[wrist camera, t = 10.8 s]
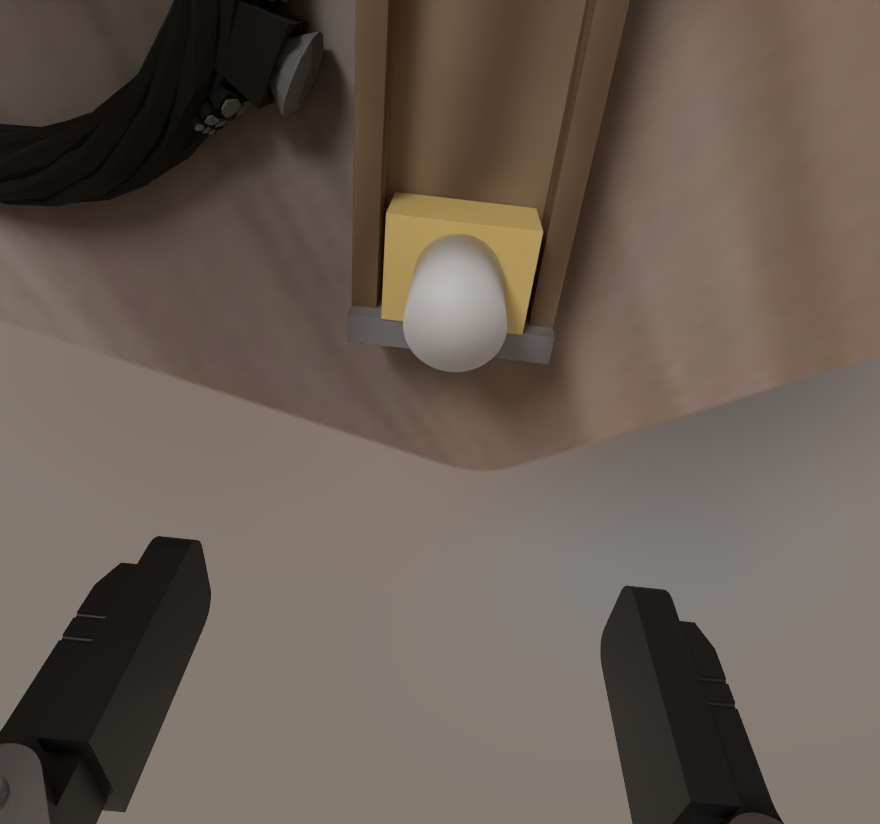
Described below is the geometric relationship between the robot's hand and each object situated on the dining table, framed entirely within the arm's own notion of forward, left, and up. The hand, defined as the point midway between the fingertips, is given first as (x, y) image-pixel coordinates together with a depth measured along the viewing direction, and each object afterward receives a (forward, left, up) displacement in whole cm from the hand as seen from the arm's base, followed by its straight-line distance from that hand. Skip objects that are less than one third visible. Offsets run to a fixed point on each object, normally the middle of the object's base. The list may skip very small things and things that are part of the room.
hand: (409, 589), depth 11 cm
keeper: (+1, -1, -22) cm, 22 cm away
